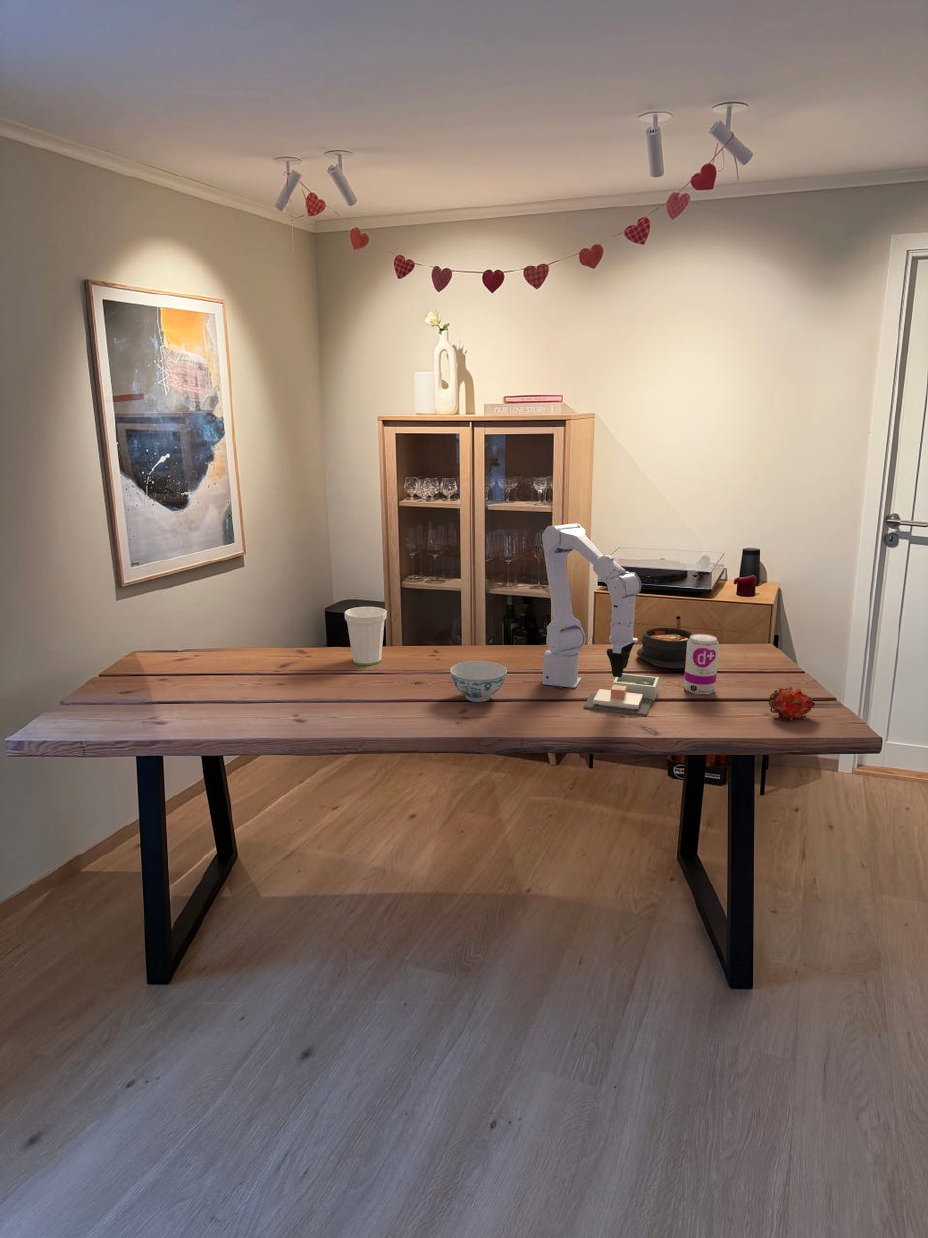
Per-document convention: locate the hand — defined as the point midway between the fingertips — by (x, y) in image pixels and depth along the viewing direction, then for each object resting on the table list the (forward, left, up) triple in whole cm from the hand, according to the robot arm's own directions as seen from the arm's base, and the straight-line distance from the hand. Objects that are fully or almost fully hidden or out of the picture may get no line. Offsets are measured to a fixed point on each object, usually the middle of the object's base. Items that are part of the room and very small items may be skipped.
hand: (619, 672), depth 221 cm
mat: (0, 0, -9) cm, 9 cm away
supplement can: (+19, +18, -9) cm, 28 cm away
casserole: (+8, +42, -9) cm, 44 cm away
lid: (0, 0, -9) cm, 9 cm away
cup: (-77, +11, -9) cm, 78 cm away
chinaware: (-36, -7, -9) cm, 38 cm away
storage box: (+3, +10, -9) cm, 14 cm away
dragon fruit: (+42, +6, -9) cm, 44 cm away
